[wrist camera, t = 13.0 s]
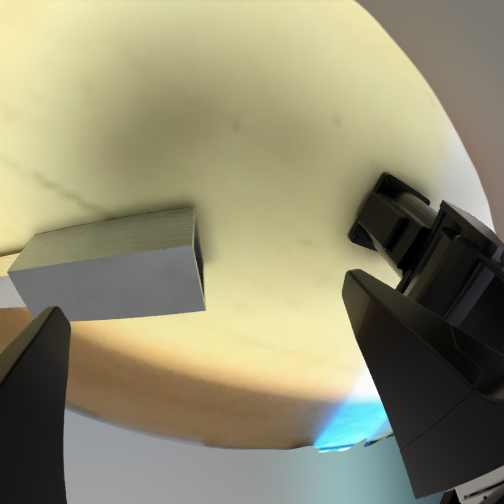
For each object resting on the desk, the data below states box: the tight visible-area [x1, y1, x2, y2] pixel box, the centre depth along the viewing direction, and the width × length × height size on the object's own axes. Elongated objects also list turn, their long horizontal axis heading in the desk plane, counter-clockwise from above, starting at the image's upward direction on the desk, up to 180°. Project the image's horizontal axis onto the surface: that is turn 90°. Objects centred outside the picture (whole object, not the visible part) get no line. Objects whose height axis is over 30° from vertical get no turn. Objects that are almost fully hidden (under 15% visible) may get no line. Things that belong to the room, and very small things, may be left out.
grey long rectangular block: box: [7, 207, 206, 321], centre depth 17 cm, size 14×5×5 cm, turn 92°
